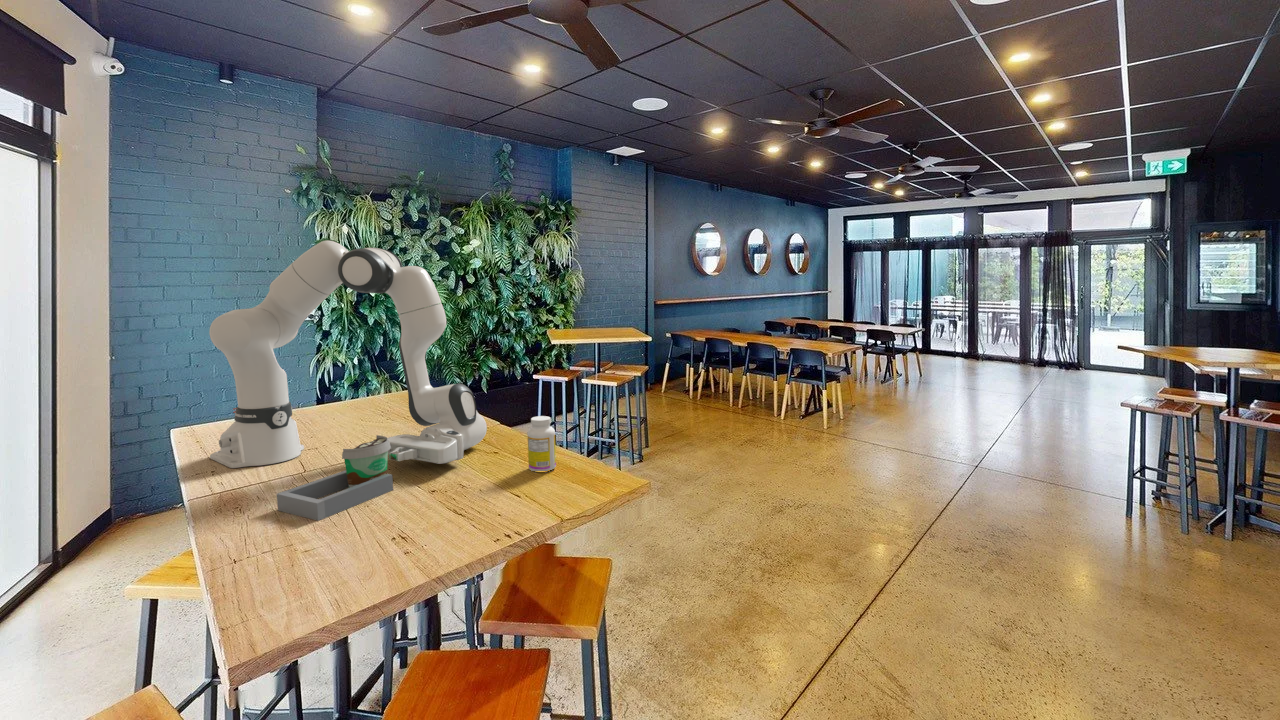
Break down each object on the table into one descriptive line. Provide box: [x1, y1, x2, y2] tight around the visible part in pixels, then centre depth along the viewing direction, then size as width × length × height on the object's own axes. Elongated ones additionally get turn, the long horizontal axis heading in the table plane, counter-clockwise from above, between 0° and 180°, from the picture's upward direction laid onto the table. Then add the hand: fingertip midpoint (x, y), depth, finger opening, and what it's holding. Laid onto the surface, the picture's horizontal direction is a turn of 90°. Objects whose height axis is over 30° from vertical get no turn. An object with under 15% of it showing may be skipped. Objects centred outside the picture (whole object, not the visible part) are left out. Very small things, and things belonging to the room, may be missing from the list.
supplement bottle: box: [527, 415, 557, 472], centre depth 140 cm, size 7×7×13 cm
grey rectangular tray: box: [276, 469, 394, 522], centre depth 121 cm, size 12×18×4 cm, turn 156°
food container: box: [341, 434, 391, 488], centre depth 129 cm, size 12×6×10 cm, turn 168°
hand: (393, 457), depth 134 cm, fingers closed
